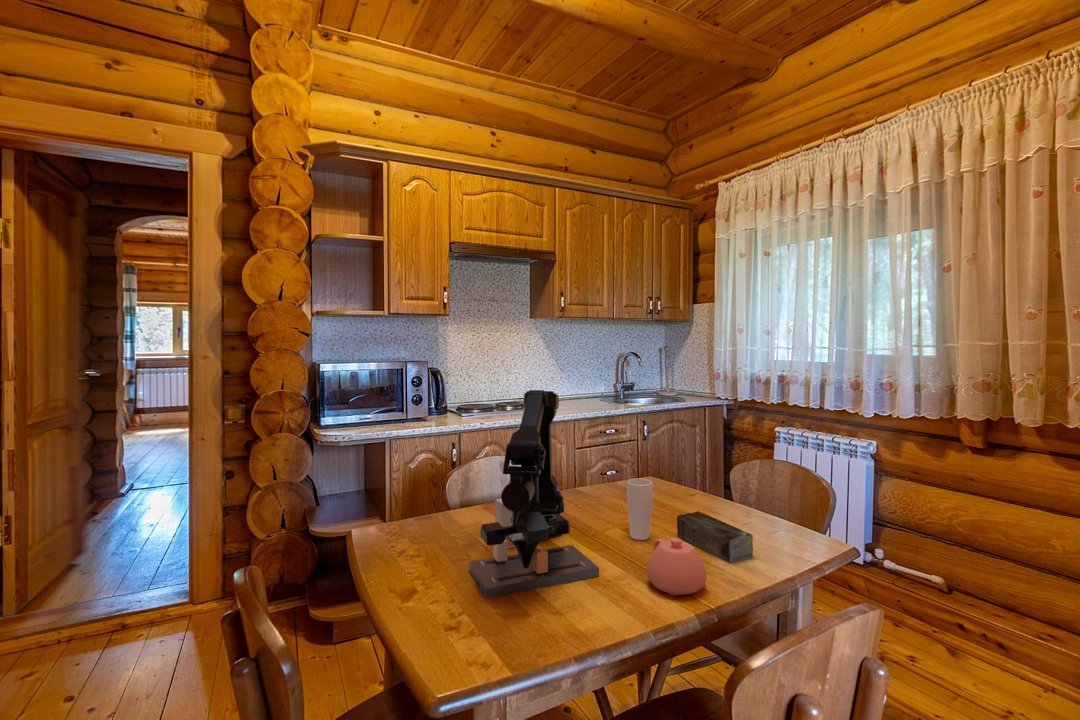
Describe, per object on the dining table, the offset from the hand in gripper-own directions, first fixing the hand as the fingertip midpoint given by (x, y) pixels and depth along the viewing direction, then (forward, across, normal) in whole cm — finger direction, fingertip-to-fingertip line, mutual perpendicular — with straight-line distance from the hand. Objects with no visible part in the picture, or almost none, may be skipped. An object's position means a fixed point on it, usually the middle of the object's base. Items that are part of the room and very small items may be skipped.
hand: (525, 567), depth 113 cm
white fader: (+1, -3, +9) cm, 9 cm away
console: (+3, +3, +4) cm, 6 cm away
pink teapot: (+4, +29, -12) cm, 32 cm away
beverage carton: (+4, +51, +1) cm, 51 cm away
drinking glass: (+4, +37, +14) cm, 40 cm away
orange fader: (+1, +3, 0) cm, 3 cm away
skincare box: (+4, +3, +21) cm, 22 cm away
